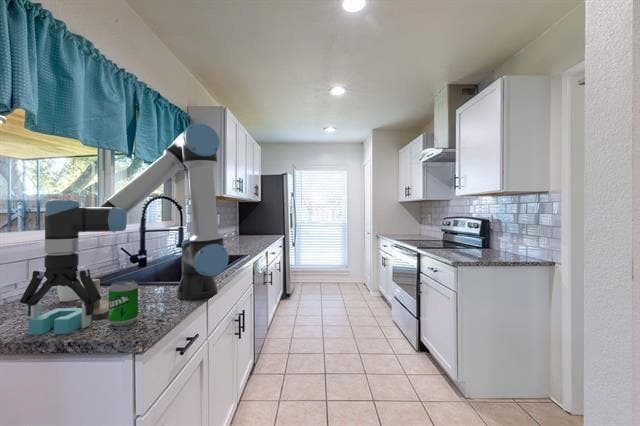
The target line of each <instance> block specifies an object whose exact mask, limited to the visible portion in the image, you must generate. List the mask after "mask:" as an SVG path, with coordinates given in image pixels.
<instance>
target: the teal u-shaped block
mask: <svg viewBox="0 0 640 426" xmlns="http://www.w3.org/2000/svg"><path fill="white" fill-rule="evenodd" d="M92 321H93V319H92V314H91V322H92ZM79 328H82V308H72V307H67V308H65V307H62V308H60V307H59V308H58V307H57V308H55V309H52V310H50V311H47V312H45V313H43V314H42V313H41V315H40V316H37V317H35V318H32V319H31V318H30V319H29V320H28V335H29V336H30V335H31V336H32V335H33V336H34V335H44V334H46V333H48V332H50V330H51V329H53V333H54V334H53V335H66V334H67V335H68V334H70V333H72V332H74V331H76V330H77V329H79Z"/></svg>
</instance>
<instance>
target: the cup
mask: <svg viewBox="0 0 640 426" xmlns="http://www.w3.org/2000/svg"><path fill="white" fill-rule="evenodd" d="M77 269H78V271H81V270H86V266H84V265H78V266H77ZM76 278H77V279H78V280H79V281H80V284H81V285H82V286H83V287H84V285H83V283H82V282H81V279H80V277H78V276H77V277H76ZM72 283H73V282H72ZM84 288H85V287H84ZM56 290H57V295H58V300H59V301H60V302H62V303H63V302H64V303H65V302H75V301H79V300H81V299H80V298H79V296H78V295H77V294H76V293H75V292H74V291H73V290H72V289H71V288H69V287H68V286H56Z"/></svg>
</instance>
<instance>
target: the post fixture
mask: <svg viewBox="0 0 640 426" xmlns="http://www.w3.org/2000/svg"><path fill="white" fill-rule="evenodd" d="M92 281H93V283H94V285H95V287H96V289H97V290H98V292H99V294H100V295H101V279H99V278H95V279H94V278H93V279H92ZM108 302H109V300H103V301H102V300H101V299H100V300H99V301H96V302H94V312H93V314H92V320H93V319H104V318H106V317H108ZM84 304H85V303H84V302H83V301H82V300H76V304H75V305H74V306H72V307H71V308H82V305H84Z"/></svg>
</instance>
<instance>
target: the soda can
mask: <svg viewBox="0 0 640 426" xmlns="http://www.w3.org/2000/svg"><path fill="white" fill-rule="evenodd" d="M108 301H109V302H108V316H107V317H108V321H107V322H108V324H111V325H112V326H114V327H123V326H128V325H131V324H133V323H135V321H136V320H138V317H139V284H138V283H136V282H135V280H123V281H116V282H114V283H111V285H110V286H109V287H108Z"/></svg>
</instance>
